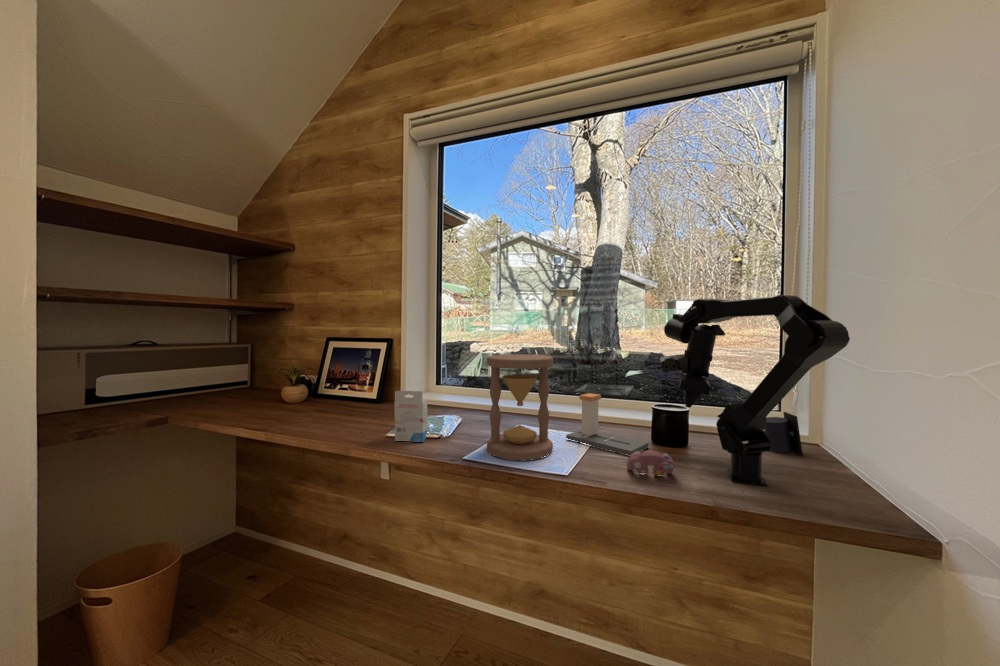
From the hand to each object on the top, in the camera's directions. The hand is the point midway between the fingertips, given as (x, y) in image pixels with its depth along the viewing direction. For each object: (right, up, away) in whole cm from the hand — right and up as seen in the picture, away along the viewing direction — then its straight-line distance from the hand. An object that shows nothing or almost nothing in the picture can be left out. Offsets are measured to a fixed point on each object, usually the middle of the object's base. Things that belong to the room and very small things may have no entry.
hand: (687, 406), depth 99 cm
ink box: (-74, -12, +12) cm, 76 cm away
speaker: (+26, -13, +3) cm, 29 cm away
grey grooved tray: (-19, -12, +9) cm, 24 cm away
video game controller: (-15, -13, -13) cm, 24 cm away
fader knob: (-22, -10, +13) cm, 28 cm away
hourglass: (-43, -12, +4) cm, 45 cm away
